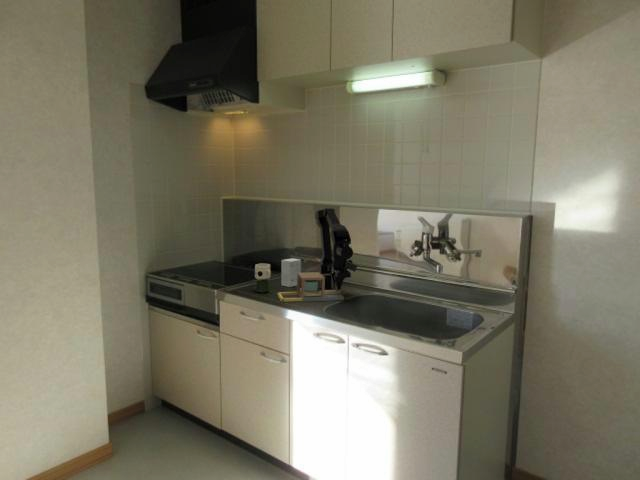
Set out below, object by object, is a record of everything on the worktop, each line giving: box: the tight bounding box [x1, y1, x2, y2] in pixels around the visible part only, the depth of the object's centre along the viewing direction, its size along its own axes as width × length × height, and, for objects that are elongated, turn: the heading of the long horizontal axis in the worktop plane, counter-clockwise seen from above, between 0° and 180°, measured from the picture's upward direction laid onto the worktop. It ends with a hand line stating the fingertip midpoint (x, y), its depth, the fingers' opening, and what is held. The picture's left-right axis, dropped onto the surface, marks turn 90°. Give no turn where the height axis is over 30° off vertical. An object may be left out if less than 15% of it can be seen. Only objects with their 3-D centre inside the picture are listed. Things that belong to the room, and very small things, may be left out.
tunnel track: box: [277, 271, 345, 303], centre depth 209 cm, size 12×28×10 cm, turn 104°
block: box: [305, 280, 317, 291], centre depth 209 cm, size 5×5×5 cm
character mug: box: [254, 263, 272, 294], centre depth 217 cm, size 11×7×13 cm, turn 46°
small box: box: [280, 258, 302, 288], centre depth 233 cm, size 8×6×13 cm
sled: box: [300, 283, 342, 296], centre depth 210 cm, size 8×18×6 cm, turn 104°
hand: (338, 289), depth 212 cm, fingers closed on sled, 2 cm apart
